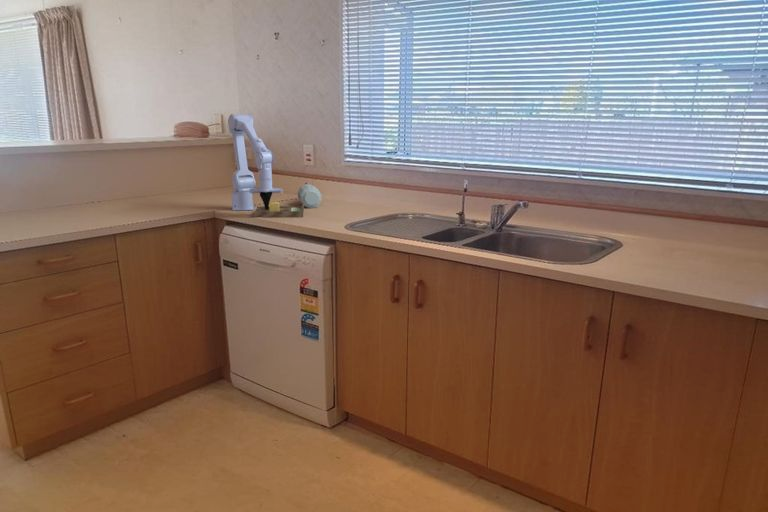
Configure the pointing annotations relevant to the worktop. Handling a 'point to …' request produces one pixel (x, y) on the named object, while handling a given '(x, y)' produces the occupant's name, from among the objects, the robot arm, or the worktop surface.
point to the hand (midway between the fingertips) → (266, 209)
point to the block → (274, 206)
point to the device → (309, 195)
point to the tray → (280, 211)
